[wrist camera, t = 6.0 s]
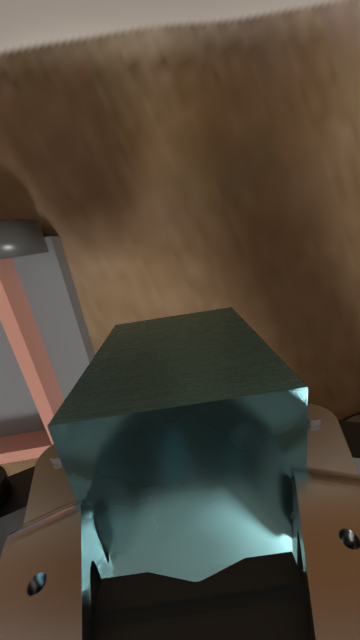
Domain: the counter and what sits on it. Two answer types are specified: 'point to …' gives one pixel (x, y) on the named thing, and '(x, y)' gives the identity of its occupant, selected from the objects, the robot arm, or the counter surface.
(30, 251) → the chassis
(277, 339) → the counter surface
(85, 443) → the teal glassy cube
